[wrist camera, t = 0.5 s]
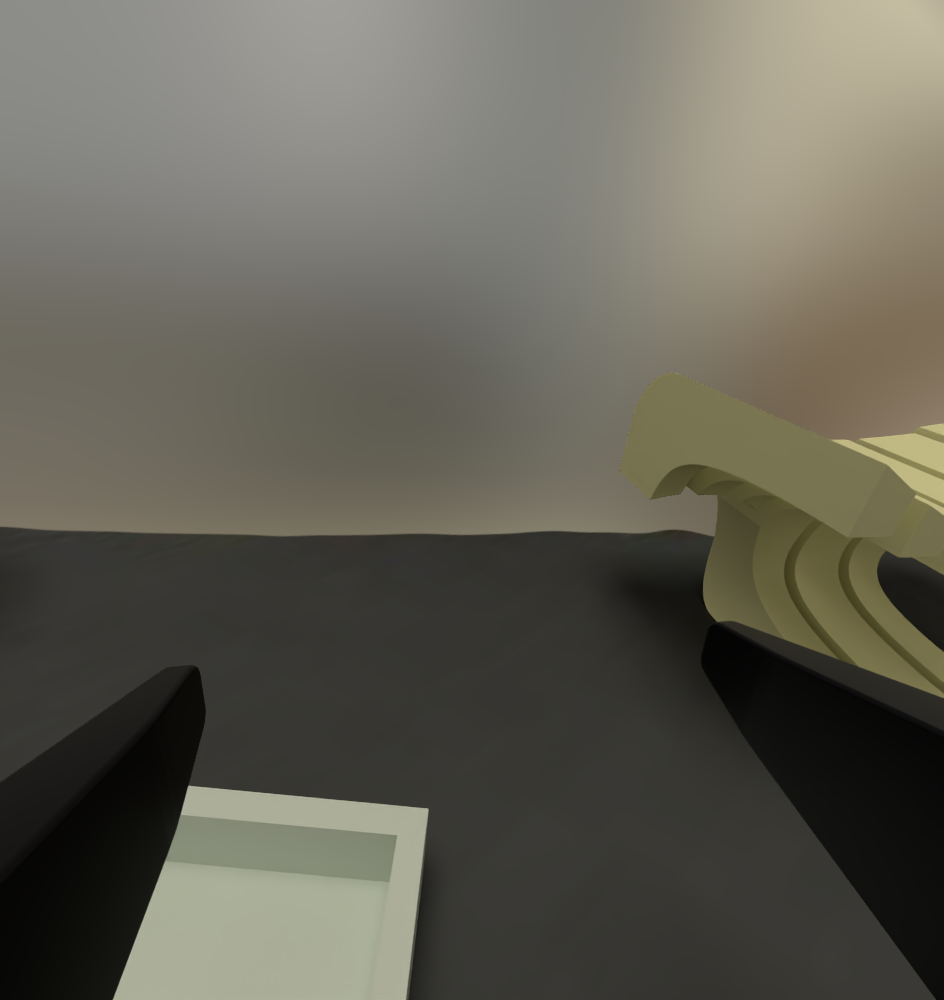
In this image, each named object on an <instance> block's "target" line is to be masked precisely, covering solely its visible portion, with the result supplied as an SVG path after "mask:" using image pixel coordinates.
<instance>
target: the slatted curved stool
mask: <svg viewBox="0 0 944 1000" xmlns="http://www.w3.org/2000/svg"><path fill="white" fill-rule="evenodd" d="M619 471H620V472H622V474H623V475H624V476H625V477H627V478H628V479H629V480H630V481H631V482H632V483H633V484H634V485H635V486H636V487H637V488H638V489H639V490H640V491H641V492H642V493H643V494H644V495H645V496H646V497H648V498H649V499H650V500H651V499H656V498H660V497H665V496H671V495H678V494H681V492H682V491H683V489H684V488H685V486H687V487H689V488H690V489H691V490H693V491H694V492H695V493H696V494H697V495H717V497H718V498H717V499H718V513H717V524H716V533H715V537H714V541H713V544H712V547H711V550H710V554H709V557H708V561H707V565H706V569H705V574H704V581H703V598H704V602H705V605H706V608H707V610H708V612H709V613H710V614H711V616H712V617H713V618H714V619H715V620H716V621H717V622H721V621H735V622H738V623H741V624H744V625H746V626H749V627H752V628H754V629H757V630H760V631H763V632H765V633H768V634H771V635H774V636H776V637H779V638H782V639H784V640H787V641H790V642H793V643H795V644H798V645H801V646H803V647H806V648H809V649H812V650H814V651H817V652H820V653H823V654H825V655H828V656H831V657H833V658H836V659H839V660H842V661H844V662H847V663H850V664H852V665H855V666H858V667H861V668H863V669H866V670H869V671H872V672H874V673H877V674H880V675H882V676H885V677H888V678H891V679H893V680H896V681H899V682H901V683H904V684H907V685H910V686H912V687H915V688H918V689H921V690H923V691H926V692H929V693H931V694H934V695H937V696H940V697H942V698H944V652H943V651H942V650H941V649H939V648H938V647H937V646H936V645H935V644H933V643H932V642H931V641H930V640H929V639H928V638H926V637H925V636H924V635H923V634H922V633H921V632H920V631H918V630H917V629H916V628H915V627H914V626H913V625H912V624H911V623H910V622H909V621H908V620H907V619H906V618H905V617H904V616H903V615H902V614H901V613H900V612H899V611H898V610H897V608H896V607H895V606H894V605H893V604H892V603H891V602H890V600H889V599H888V598H887V596H886V595H885V593H884V592H883V590H882V588H881V586H880V584H879V581H878V577H877V566H878V563H879V560H880V558H881V556H882V555H883V553H884V552H885V551H886V550H887V551H888V552H890V553H892V554H893V555H895V556H897V557H899V558H900V557H913V558H914V559H916V560H918V561H920V562H921V563H923V564H925V565H927V566H929V567H930V568H932V569H934V570H936V571H937V572H939V573H941V574H943V575H944V424H937V425H930V426H924V427H919V428H918V429H916V430H915V431H913V432H912V433H911V434H905V435H895V436H886V437H876V438H864V439H858V440H857V441H856V442H855V443H854V442H851V441H849V440H829V439H827V438H825V437H823V436H820V435H818V434H816V433H813V432H811V431H809V430H807V429H804V428H802V427H800V426H797V425H795V424H793V423H790V422H788V421H786V420H783V419H781V418H779V417H777V416H774V415H772V414H770V413H768V412H765V411H763V410H760V409H758V408H756V407H754V406H751V405H749V404H747V403H744V402H742V401H740V400H738V399H735V398H733V397H731V396H728V395H726V394H724V393H722V392H719V391H717V390H715V389H712V388H710V387H708V386H706V385H703V384H701V383H699V382H696V381H694V380H692V379H690V378H687V377H685V376H683V375H680V374H678V373H667V374H664V375H661V376H660V377H658V378H656V379H655V380H654V381H653V382H652V383H651V384H650V385H649V386H648V387H647V388H646V390H645V391H644V392H643V394H642V396H641V398H640V400H639V402H638V404H637V406H636V409H635V412H634V415H633V419H632V422H631V426H630V430H629V434H628V438H627V442H626V446H625V450H624V454H623V457H622V461H621V465H620V469H619Z"/></svg>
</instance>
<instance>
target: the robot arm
mask: <svg viewBox="0 0 944 1000" xmlns="http://www.w3.org/2000/svg"><path fill="white" fill-rule="evenodd" d="M701 664H702V668H703V671H704V672H705V674H706V676H707V677H708V679H709V681H710V682H711V684H712V686H713V687H714V689H715V690H716V692H717V694H718V695H719V697H720V699H721V700H722V702H723V703H724V705H725V707H726V708H727V710H728V712H729V713H730V715H731V716H732V718H733V720H734V721H735V723H736V725H737V726H738V728H739V729H740V731H741V733H742V734H743V736H744V737H745V739H746V740H747V742H748V744H749V745H750V746H751V748H752V749H753V751H754V752H755V754H756V755H757V756H758V758H759V759H760V760H761V762H762V763H763V765H764V766H765V767H766V769H767V770H768V771H769V773H770V774H771V775H772V777H773V778H774V780H775V781H776V782H777V784H778V785H779V786H780V788H781V789H782V790H783V792H784V793H785V794H786V796H787V797H788V799H789V800H790V801H791V803H792V804H793V805H794V807H795V808H796V809H797V811H798V812H799V814H800V815H801V816H802V818H803V819H804V820H805V822H806V823H807V824H808V826H809V827H810V829H811V830H812V831H813V833H814V834H815V835H816V837H817V838H818V839H819V841H820V842H821V843H822V845H823V846H824V848H825V849H826V850H827V852H828V853H829V854H830V856H831V857H832V858H833V860H834V861H835V863H836V864H837V865H838V867H839V868H840V869H841V871H842V872H843V873H844V875H845V876H846V878H847V879H848V880H849V882H850V883H851V884H852V886H853V887H854V888H855V890H856V891H857V892H858V894H859V895H860V897H861V898H862V899H863V901H864V902H865V903H866V905H867V906H868V907H869V909H870V910H871V912H872V913H873V914H874V916H875V917H876V918H877V920H878V921H879V922H880V924H881V925H882V927H883V928H884V929H885V931H886V932H887V933H888V935H889V936H890V937H891V939H892V940H893V941H894V943H895V944H896V946H897V947H898V948H899V950H900V951H901V952H902V954H903V955H904V956H905V958H906V959H907V961H908V962H909V963H910V965H911V966H912V967H913V969H914V970H915V971H916V973H917V974H918V976H919V977H920V978H921V980H922V981H923V982H924V984H925V985H926V986H927V988H928V989H929V990H930V992H931V993H932V995H933V996H934V997H935V999H936V1000H944V698H942V697H940V696H937V695H934V694H931V693H929V692H926V691H923V690H921V689H918V688H915V687H912V686H910V685H907V684H904V683H901V682H899V681H896V680H893V679H891V678H888V677H885V676H882V675H880V674H877V673H874V672H872V671H869V670H866V669H863V668H861V667H858V666H855V665H852V664H850V663H847V662H844V661H842V660H839V659H836V658H833V657H831V656H828V655H825V654H823V653H820V652H817V651H814V650H812V649H809V648H806V647H803V646H801V645H798V644H795V643H793V642H790V641H787V640H784V639H782V638H779V637H776V636H774V635H771V634H768V633H765V632H763V631H760V630H757V629H754V628H752V627H749V626H746V625H744V624H741V623H738V622H735V621H721V622H714V623H712V624H711V625H710V626H709V628H708V631H707V635H706V639H705V643H704V648H703V652H702V656H701ZM205 716H206V709H205V702H204V695H203V688H202V682H201V675H200V671H199V669H198V667H196V666H194V665H187V666H174V667H167V668H165V669H163V670H162V671H160V672H159V673H157V674H156V675H154V676H153V677H152V678H150V679H149V680H147V681H146V682H144V683H143V684H141V685H140V686H139V687H137V688H136V689H134V690H133V691H131V692H130V693H128V694H127V695H126V696H124V697H123V698H121V699H120V700H118V701H117V702H115V703H114V704H113V705H111V706H110V707H108V708H107V709H105V710H104V711H102V712H101V713H100V714H98V715H97V716H95V717H94V718H92V719H91V720H89V721H88V722H87V723H85V724H84V725H82V726H81V727H79V728H78V729H76V730H75V731H74V732H72V733H71V734H69V735H68V736H66V737H65V738H63V739H62V740H61V741H59V742H58V743H56V744H55V745H53V746H52V747H50V748H49V749H48V750H46V751H45V752H43V753H42V754H40V755H39V756H37V757H36V758H35V759H33V760H32V761H30V762H29V763H27V764H26V765H24V766H23V767H22V768H20V769H19V770H17V771H16V772H14V773H13V774H11V775H10V776H9V777H7V778H6V779H4V780H3V781H1V782H0V1000H113V998H114V996H115V993H116V991H117V988H118V985H119V983H120V980H121V977H122V975H123V972H124V969H125V967H126V964H127V961H128V959H129V956H130V953H131V951H132V948H133V945H134V943H135V940H136V937H137V935H138V932H139V929H140V927H141V924H142V921H143V919H144V916H145V914H146V911H147V908H148V906H149V903H150V900H151V898H152V895H153V892H154V890H155V887H156V884H157V882H158V879H159V876H160V874H161V871H162V868H163V866H164V863H165V860H166V858H167V855H168V852H169V850H170V847H171V844H172V841H173V838H174V835H175V833H176V830H177V826H178V823H179V819H180V816H181V812H182V808H183V804H184V801H185V797H186V793H187V789H188V785H189V782H190V778H191V774H192V770H193V766H194V762H195V759H196V755H197V751H198V747H199V743H200V739H201V736H202V732H203V728H204V724H205Z"/></svg>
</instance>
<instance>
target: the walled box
mask: <svg viewBox="0 0 944 1000" xmlns="http://www.w3.org/2000/svg"><path fill="white" fill-rule="evenodd" d="M427 821H428V809H426V808H415V807H405V806H394V805H383V804H373V803H362V802H352V801H341V800H331V799H320V798H310V797H299V796H289V795H278V794H268V793H257V792H247V791H236V790H226V789H215V788H205V787H194V786H188V789H187V793H186V797H185V801H184V804H183V808H182V812H181V816H180V819H179V823H178V826H177V830H176V833H175V835H174V838H173V841H172V844H171V847H170V850H169V852H168V855H167V858H166V860H165V863H164V866H163V868H162V871H161V874H160V876H159V879H158V882H157V884H156V887H155V890H154V892H153V895H152V898H151V900H150V903H149V906H148V908H147V911H146V914H145V916H144V919H143V921H142V924H141V927H140V929H139V932H138V935H137V937H136V940H135V943H134V945H133V948H132V951H131V953H130V956H129V959H128V961H127V964H126V967H125V969H124V972H123V975H122V977H121V980H120V983H119V985H118V988H117V991H116V993H115V996H114V998H113V1000H409V992H410V983H411V974H412V966H413V957H414V948H415V939H416V931H417V922H418V913H419V904H420V896H421V887H422V878H423V870H424V859H425V847H426V834H427Z"/></svg>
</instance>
